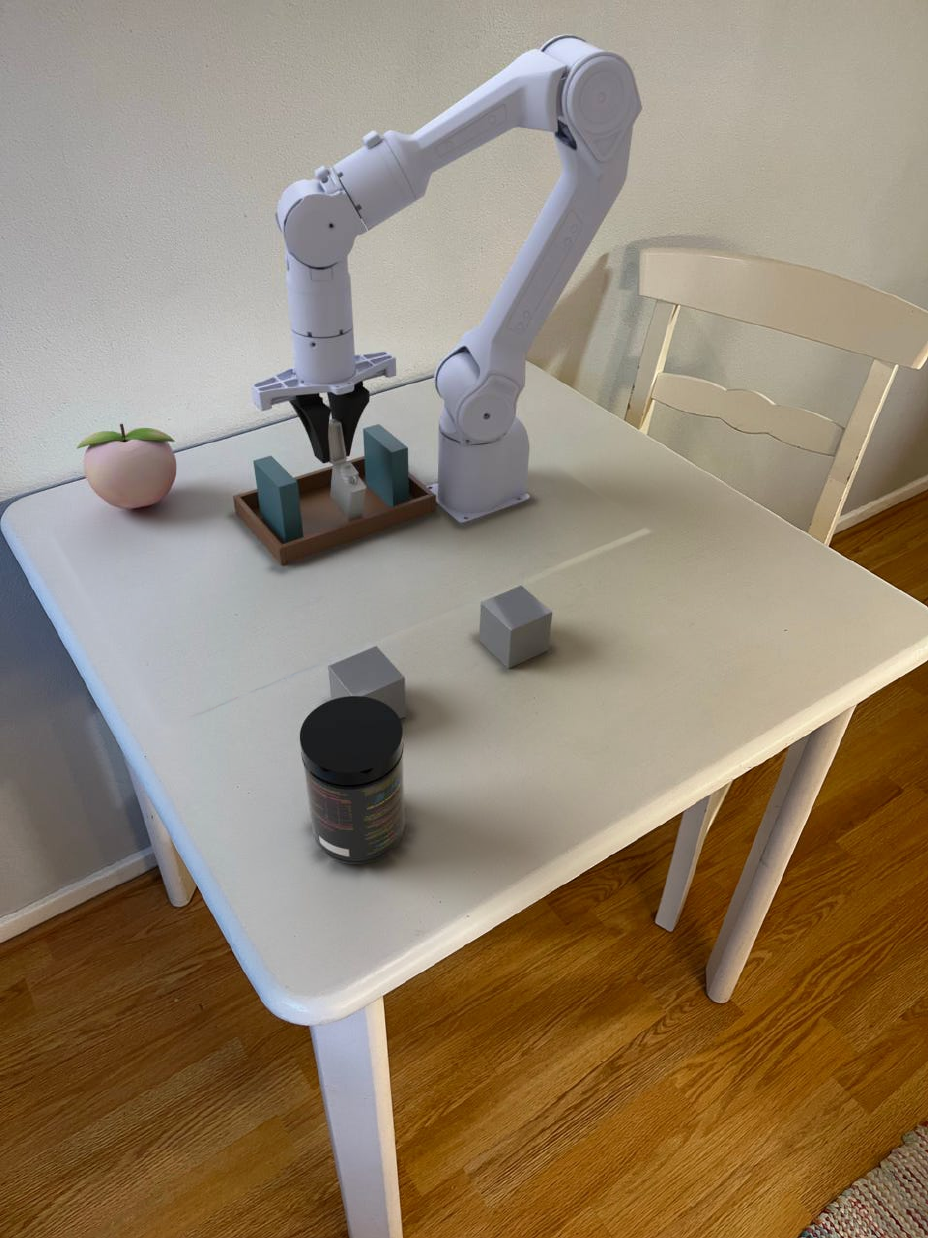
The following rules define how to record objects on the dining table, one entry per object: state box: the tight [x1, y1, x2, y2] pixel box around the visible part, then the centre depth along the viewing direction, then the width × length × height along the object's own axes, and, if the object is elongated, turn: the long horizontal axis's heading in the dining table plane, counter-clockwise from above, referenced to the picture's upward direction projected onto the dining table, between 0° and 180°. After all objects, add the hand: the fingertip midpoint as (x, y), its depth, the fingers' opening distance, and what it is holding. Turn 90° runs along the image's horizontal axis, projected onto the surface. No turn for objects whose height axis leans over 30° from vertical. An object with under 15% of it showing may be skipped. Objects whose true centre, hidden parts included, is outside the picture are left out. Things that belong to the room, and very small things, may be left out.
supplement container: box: [299, 696, 406, 865], centre depth 62 cm, size 7×7×10 cm
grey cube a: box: [478, 585, 553, 669], centre depth 80 cm, size 4×4×4 cm
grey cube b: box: [327, 645, 407, 720], centre depth 73 cm, size 4×4×4 cm
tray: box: [232, 455, 437, 567], centre depth 95 cm, size 18×11×2 cm, turn 124°
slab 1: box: [253, 455, 303, 544], centre depth 91 cm, size 2×6×7 cm, turn 34°
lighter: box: [328, 418, 366, 521], centre depth 91 cm, size 7×2×8 cm, turn 35°
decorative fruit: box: [76, 423, 177, 510], centre depth 93 cm, size 9×8×10 cm
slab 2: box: [362, 423, 409, 507], centre depth 96 cm, size 2×6×7 cm, turn 34°
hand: (332, 455), depth 91 cm, fingers closed on lighter, 2 cm apart
